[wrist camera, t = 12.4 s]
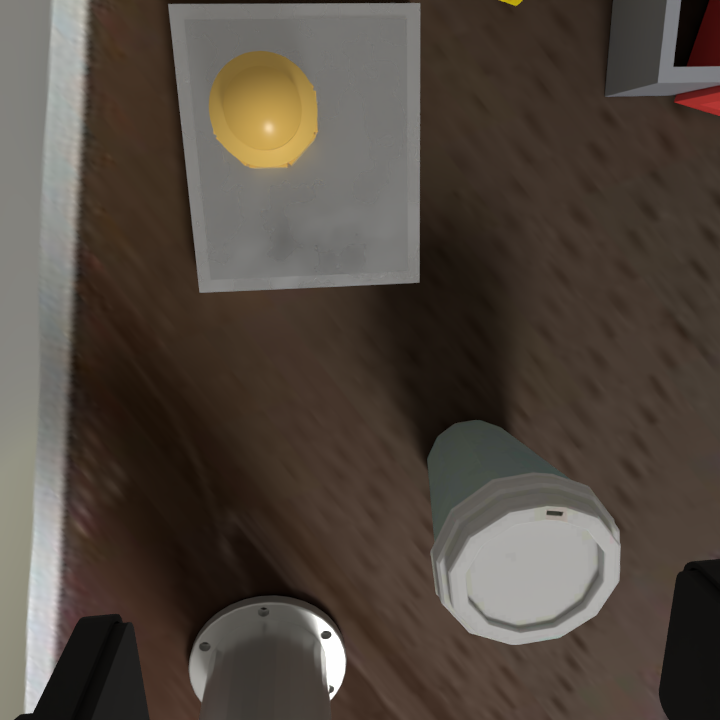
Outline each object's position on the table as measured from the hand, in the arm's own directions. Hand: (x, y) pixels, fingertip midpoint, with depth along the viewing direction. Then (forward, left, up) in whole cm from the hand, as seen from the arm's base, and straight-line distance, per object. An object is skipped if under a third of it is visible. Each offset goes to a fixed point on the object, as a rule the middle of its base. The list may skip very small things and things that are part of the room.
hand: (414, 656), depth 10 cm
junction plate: (+9, +1, -32) cm, 34 cm away
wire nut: (+11, +3, -30) cm, 32 cm away
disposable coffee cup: (-13, -10, -32) cm, 36 cm away
